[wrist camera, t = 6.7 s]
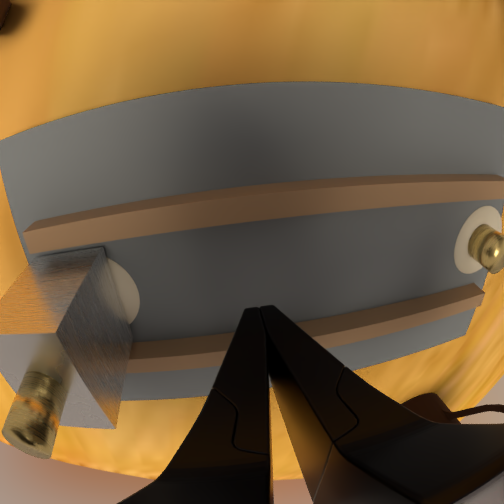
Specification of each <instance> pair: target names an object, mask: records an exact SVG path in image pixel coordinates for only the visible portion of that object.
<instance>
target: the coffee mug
mask: <svg viewBox="0 0 504 504" xmlns="http://www.w3.org/2000/svg"><path fill="white" fill-rule="evenodd" d="M401 405H402V406H404V407H406V408H407V409H409V410H411V411H412V412H414V413H416V414H417V415H419V416H421V417H423V418H425V419H427V420H430V421H433V422H437V423H446V424H461V423H460V422H459V421H458V419H457V418H459V417H464V416H468V415H472V414H477V413H481V412H486V411H496V412H502V413H504V405H500V404H496V405H483V406H478V407H474V408H469V409H465V410H461V411H457V412H451V411H450V410H449V409H448V407H447V406H446V405H445V404H444V403H443V401H442V400H441V399H440V398H439V397H438V395H437V394H434V393H428V394H423V395H420V396H417V397H415V398H412V399H410V400H408V401H406V402H404V403H403V404H401Z"/></svg>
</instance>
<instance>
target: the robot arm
mask: <svg viewBox="0 0 504 504" xmlns="http://www.w3.org/2000/svg"><path fill="white" fill-rule="evenodd" d="M269 377H270V381H271V384H272V387H273V390H274V393H275V396H276V399H277V402H278V405H279V408H280V411H281V414H282V417H283V420H284V422H285V425H286V428H287V431H288V434H289V437H290V440H291V443H292V445H293V448H294V451H295V454H296V457H297V460H298V462H299V465H300V468H301V471H302V474H303V476H304V479H305V482H306V485H307V488H308V490H309V493H310V496H311V499H312V501H313V504H504V423H503V424H446V423H437V422H433V421H430V420H427V419H425V418H423V417H421V416H419V415H417V414H416V413H414V412H412V411H411V410H409V409H407V408H406V407H404V406H402V405H401V404H399V403H397V402H396V401H394V400H393V399H391V398H389V397H388V396H386V395H385V394H383V393H381V392H380V391H378V390H377V389H376V388H374V387H373V386H371V385H370V384H368V383H367V382H365V381H364V380H363V379H362V378H360V377H359V376H358V375H356V374H355V373H354V372H353V371H351V370H350V369H349V368H348V367H345V365H344V364H343V363H342V362H340V361H339V360H338V359H337V358H336V357H334V356H333V355H332V354H331V353H330V352H329V351H327V350H326V349H325V348H324V347H323V346H321V345H320V344H319V343H318V342H317V341H315V340H314V339H313V338H312V337H311V336H310V335H308V334H307V333H306V332H305V331H304V330H302V329H301V328H300V327H299V326H298V325H297V324H295V323H294V322H293V321H292V320H291V319H290V318H288V317H287V316H286V315H285V314H284V313H283V312H281V311H280V310H279V309H278V308H277V307H276V306H274V305H265V306H260V308H258V307H250V308H245V309H244V311H243V313H242V316H241V318H240V321H239V323H238V325H237V328H236V330H235V333H234V335H233V338H232V340H231V342H230V345H229V347H228V350H227V352H226V355H225V357H224V359H223V362H222V364H221V367H220V369H219V371H218V374H217V376H216V379H215V381H214V383H213V386H212V389H211V390H210V393H209V395H208V397H207V400H206V402H205V404H204V406H203V408H202V410H201V412H200V414H199V416H198V418H197V420H196V421H195V423H194V425H193V427H192V428H191V430H190V432H189V433H188V435H187V436H186V438H185V439H184V441H183V443H182V444H181V446H180V447H179V449H178V450H177V452H176V454H175V455H174V457H173V458H172V460H171V461H170V463H169V464H168V466H167V467H166V469H165V470H164V471H163V472H162V474H161V475H160V476H159V477H158V478H157V479H156V480H154V481H153V482H152V483H150V484H149V485H147V486H146V487H144V488H142V489H141V490H139V491H138V492H136V493H134V494H132V495H131V496H129V497H127V498H126V499H124V500H122V501H121V502H119V503H117V504H274V497H273V466H272V438H271V411H270V387H269Z"/></svg>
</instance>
